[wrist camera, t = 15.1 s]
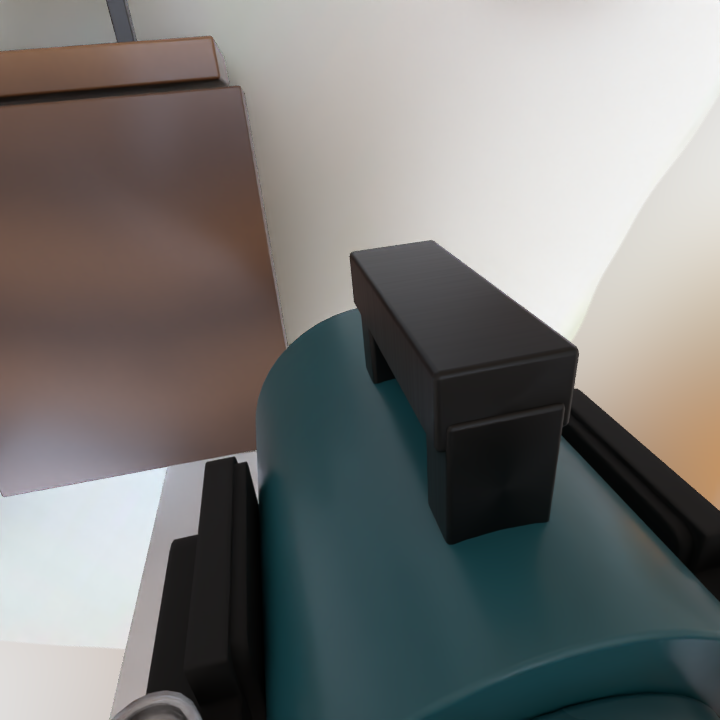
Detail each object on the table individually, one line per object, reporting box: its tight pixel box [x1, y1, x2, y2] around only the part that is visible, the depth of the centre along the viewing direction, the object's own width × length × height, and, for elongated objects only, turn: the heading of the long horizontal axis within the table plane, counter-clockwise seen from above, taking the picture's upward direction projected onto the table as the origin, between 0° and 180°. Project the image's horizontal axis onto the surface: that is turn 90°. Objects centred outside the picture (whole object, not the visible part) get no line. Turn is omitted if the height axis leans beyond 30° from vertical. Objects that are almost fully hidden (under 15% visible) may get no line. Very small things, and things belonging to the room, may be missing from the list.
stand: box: [0, 86, 288, 497], centre depth 22 cm, size 14×13×10 cm
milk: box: [109, 451, 259, 720], centre depth 25 cm, size 6×6×22 cm
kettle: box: [256, 240, 720, 720], centre depth 8 cm, size 11×6×10 cm, turn 6°
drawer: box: [0, 0, 229, 106], centre depth 20 cm, size 17×11×8 cm
